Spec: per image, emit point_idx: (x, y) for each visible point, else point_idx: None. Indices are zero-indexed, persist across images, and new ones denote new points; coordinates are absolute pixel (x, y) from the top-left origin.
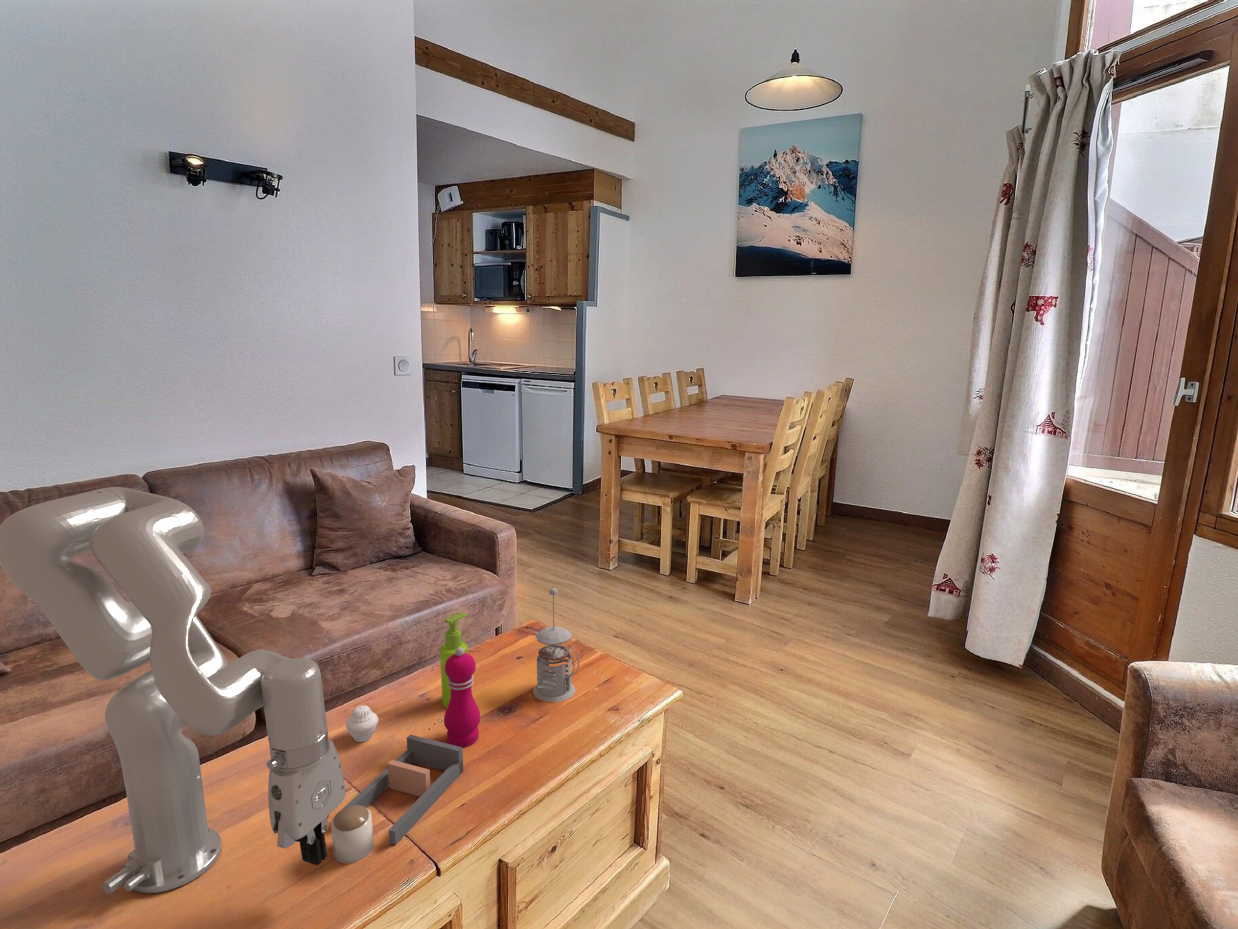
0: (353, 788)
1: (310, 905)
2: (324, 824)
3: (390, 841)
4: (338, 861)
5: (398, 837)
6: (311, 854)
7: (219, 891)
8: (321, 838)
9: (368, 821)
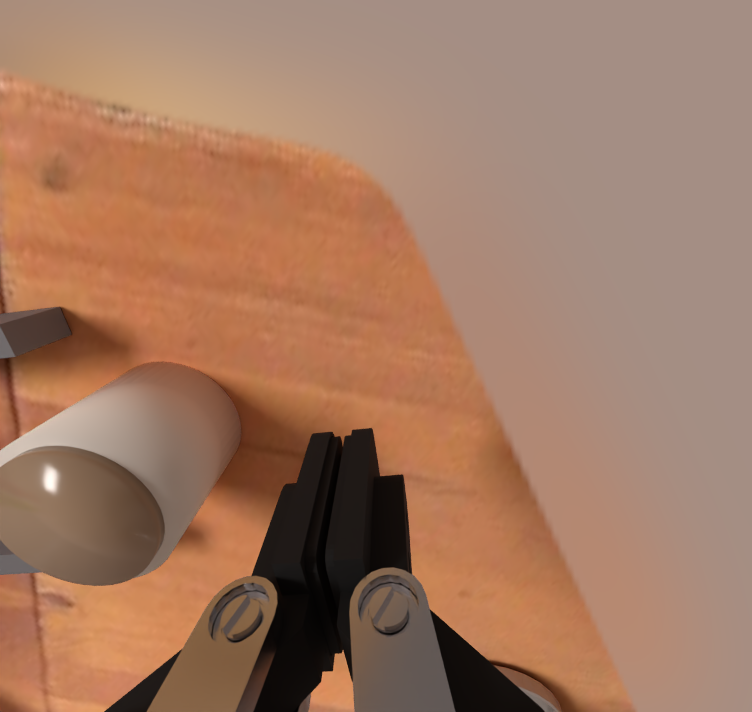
0: (39, 590)
1: (413, 364)
2: (216, 656)
3: (61, 332)
4: (240, 424)
5: (22, 314)
6: (390, 502)
7: (486, 598)
8: (304, 551)
9: (26, 440)
